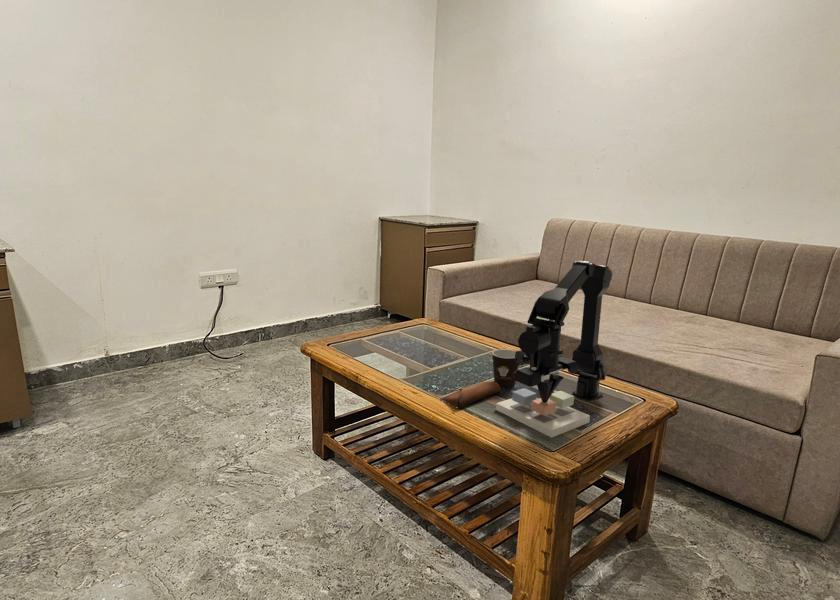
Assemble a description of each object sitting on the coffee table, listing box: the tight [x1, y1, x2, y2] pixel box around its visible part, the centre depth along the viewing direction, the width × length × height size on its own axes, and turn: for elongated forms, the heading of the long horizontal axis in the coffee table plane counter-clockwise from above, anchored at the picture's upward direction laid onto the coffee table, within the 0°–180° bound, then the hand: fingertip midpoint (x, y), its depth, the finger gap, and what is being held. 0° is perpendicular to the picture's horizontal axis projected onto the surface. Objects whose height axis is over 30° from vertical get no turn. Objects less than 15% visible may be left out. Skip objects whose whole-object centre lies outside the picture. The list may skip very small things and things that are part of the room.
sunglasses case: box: [441, 381, 501, 409], centre depth 162 cm, size 18×7×7 cm, turn 133°
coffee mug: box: [491, 348, 533, 389], centre depth 171 cm, size 12×9×10 cm
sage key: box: [549, 390, 575, 409], centre depth 149 cm, size 4×4×2 cm
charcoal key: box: [529, 385, 541, 398], centre depth 154 cm, size 4×4×2 cm
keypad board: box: [495, 397, 591, 439], centre depth 151 cm, size 15×20×2 cm
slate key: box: [511, 387, 536, 406], centre depth 150 cm, size 4×4×2 cm
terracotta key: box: [531, 398, 557, 416], centre depth 145 cm, size 4×4×2 cm
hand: (544, 401), depth 145 cm, fingers closed, pressing on terracotta key
